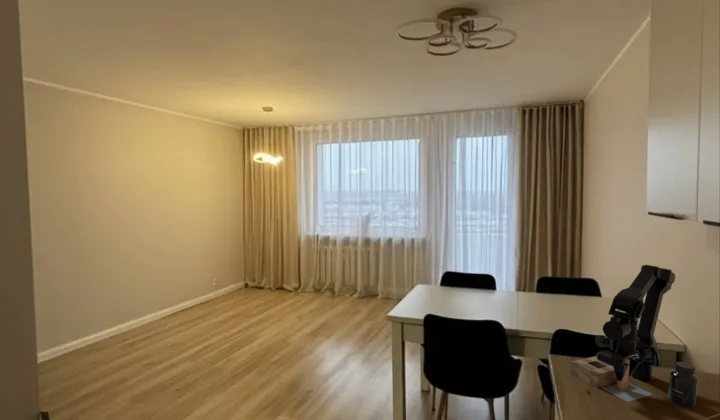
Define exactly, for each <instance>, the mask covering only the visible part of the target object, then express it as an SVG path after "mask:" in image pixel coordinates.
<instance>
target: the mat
mask: <svg viewBox="0 0 720 420" xmlns="http://www.w3.org/2000/svg"><path fill="white" fill-rule="evenodd" d="M601 389H602V390H604V391H606V392H607V393H610V394H612V395H614V396H616V397H618V398H620V399H621V400H623V401H625V402H633V401H635V400H639V399H644V398H646V397H650V396H652V395H653V393H651V392H649V391H646V390H645V389H642V388H641V387H638V386H636V385H634V384H633V383H629V382H628V391H621V390H619V389H617V383H614V384H610V385H606V386H602V387H601Z"/></svg>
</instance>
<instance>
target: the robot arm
mask: <svg viewBox="0 0 720 420" xmlns="http://www.w3.org/2000/svg"><path fill="white" fill-rule="evenodd" d="M675 281H676V274H675V273H674V272H673V270H672V269H671V268H669V269H668V268H662V267H659V266H658V265H657V266H656V265H652V264H642V266H641V268H640V271H639V273H638V274H637V275H636V276H635V278H634V280H633V281H632V282H631V284H630V285H629V287H627V288H623V289H621V290H620V291H619V292H618V293H617V294H616V295H614V297H613V299H612V302H611V305H610V308H609V311H608V315H610V316H611V317H610V319H609V321H606V322H605V323H604V324H603V326H602V332H603V334H604V335H603V334H601V335H600V334H598V335H595V339H594V340H595V341H594V342H595V344H596V345H597V346H598V347H599V348H609V349H603V350H599V351H598V352H597V353H596V356H597V359H598V360H600V361H602V362H604V363H607V364H609V365H611V366H613V368H614V371H615V374H616V377H617V380H618V381H622V379H623V377H624V374H625V372H626V370H627V367H628V365H629V364H627V363H625V359H626V358H628V359H629V360H630V365H629V378H628V380H629V379H631V377H632V378H635V379H637V380H639V381H641V382H644V383H648V382H651V381H652V382H653V381H654V380H657V377H656V376H653V368H654V367H655V366H660V361H661V355H660V352H659V349H658V343H657V340H656V338H655V335H654V334H655V331H656V327H657V322H658V318H659V314H660V309H661V305H662V302H663V297H664V295H665V294H666V293H667V292H669V291H670V290H671V289H672V286H673V284H674V283H675ZM644 298H645V299H644Z"/></svg>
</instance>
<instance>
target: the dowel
mask: <svg viewBox="0 0 720 420" xmlns="http://www.w3.org/2000/svg"><path fill="white" fill-rule="evenodd" d="M625 363H627V364H629V365H630V360H629V359H628V358H626V359H625ZM629 365H628V367H627V370H626V372H625V374H624V377H623V379H622V381H618V380H617V383H616V384H617V389H619V390H621V391H628V383H629V379H630V378H629ZM628 378H629V379H628Z"/></svg>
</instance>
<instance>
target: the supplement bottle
mask: <svg viewBox="0 0 720 420" xmlns="http://www.w3.org/2000/svg"><path fill="white" fill-rule="evenodd" d="M695 374H696V367H695V365H692V364H690V363H687V362H683V361H677V362H675V365H674V370H671V372H670V373H669V382H668V390H667V399H668V400H669V401H670V402H671V403H672V404H675V405H677V406H681V407H684V408H694V407H696V403H697V393H698V385H699V379H698V377H697V376H696V375H695Z"/></svg>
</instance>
